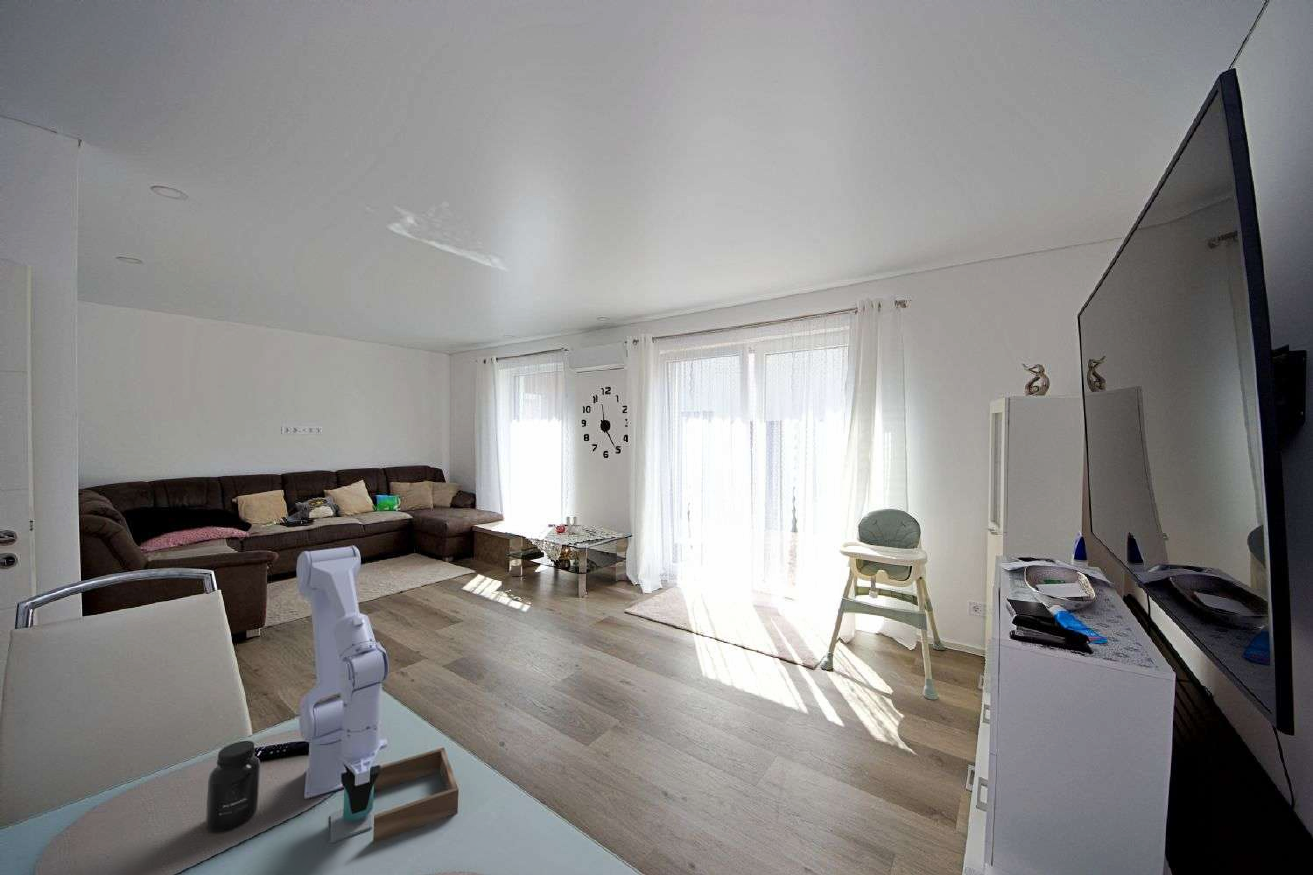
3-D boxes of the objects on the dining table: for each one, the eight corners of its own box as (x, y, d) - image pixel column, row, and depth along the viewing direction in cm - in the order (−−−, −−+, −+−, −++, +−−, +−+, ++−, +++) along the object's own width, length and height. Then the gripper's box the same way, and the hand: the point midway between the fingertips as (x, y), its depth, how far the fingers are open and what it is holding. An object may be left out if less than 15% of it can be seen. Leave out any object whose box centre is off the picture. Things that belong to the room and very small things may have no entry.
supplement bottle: (227, 838, 80) (230, 764, 80) (194, 830, 81) (197, 757, 81) (268, 807, 86) (271, 739, 87) (237, 801, 88) (240, 734, 88)
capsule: (342, 807, 85) (344, 770, 85) (371, 798, 88) (373, 761, 88) (343, 824, 81) (344, 785, 82) (373, 814, 84) (375, 776, 84)
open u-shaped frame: (368, 790, 91) (369, 769, 91) (443, 767, 98) (444, 747, 99) (373, 842, 80) (374, 818, 80) (457, 812, 87) (458, 789, 87)
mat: (330, 815, 85) (330, 812, 85) (369, 802, 88) (369, 800, 88) (330, 843, 79) (330, 840, 79) (371, 828, 83) (371, 826, 83)
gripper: (391, 737, 81) (388, 819, 81) (384, 697, 93) (381, 769, 93) (341, 750, 77) (337, 837, 77) (340, 707, 89) (337, 782, 89)
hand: (358, 801), depth 84 cm, fingers closed on capsule, 4 cm apart
